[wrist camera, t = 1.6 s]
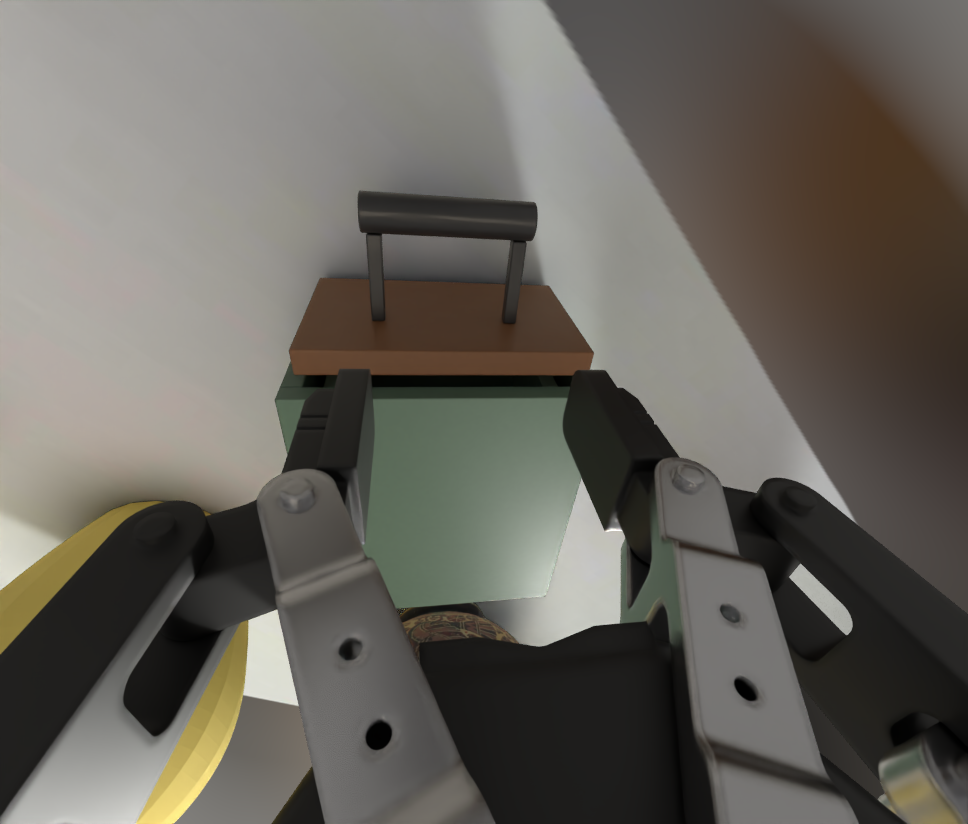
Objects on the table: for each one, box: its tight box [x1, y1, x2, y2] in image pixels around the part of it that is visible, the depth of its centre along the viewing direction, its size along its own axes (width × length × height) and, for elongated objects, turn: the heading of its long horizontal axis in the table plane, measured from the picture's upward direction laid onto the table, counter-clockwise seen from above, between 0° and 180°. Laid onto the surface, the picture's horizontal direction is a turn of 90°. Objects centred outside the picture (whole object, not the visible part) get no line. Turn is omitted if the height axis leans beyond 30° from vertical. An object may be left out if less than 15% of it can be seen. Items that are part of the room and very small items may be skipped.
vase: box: [0, 501, 248, 824], centre depth 24 cm, size 16×16×28 cm
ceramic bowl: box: [400, 603, 519, 660], centre depth 42 cm, size 24×18×15 cm
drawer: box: [289, 191, 594, 387], centre depth 24 cm, size 20×13×8 cm, turn 175°
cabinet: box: [275, 362, 581, 609], centre depth 27 cm, size 16×14×10 cm
